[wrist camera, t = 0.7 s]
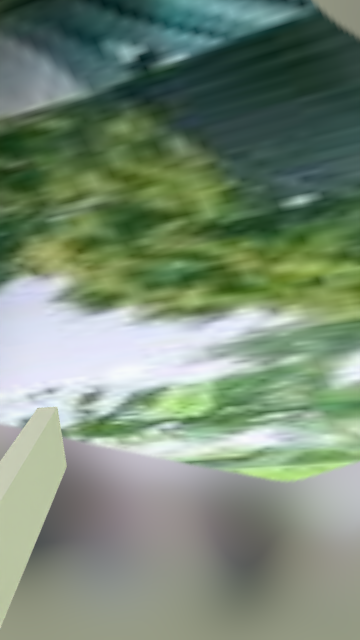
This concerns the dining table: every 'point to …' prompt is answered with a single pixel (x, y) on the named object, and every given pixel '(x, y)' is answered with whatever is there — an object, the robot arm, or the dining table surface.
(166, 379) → the dining table surface
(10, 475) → the robot arm
